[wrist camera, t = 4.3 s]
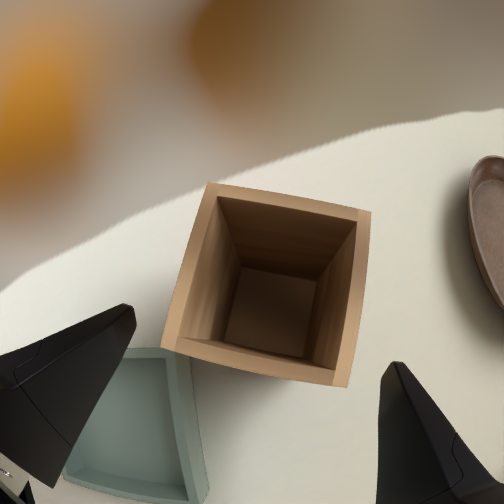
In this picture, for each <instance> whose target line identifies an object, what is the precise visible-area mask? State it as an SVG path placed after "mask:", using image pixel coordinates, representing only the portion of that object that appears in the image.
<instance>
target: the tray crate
mask: <svg viewBox="0 0 504 504" xmlns="http://www.w3.org/2000/svg"><path fill="white" fill-rule="evenodd" d="M62 475H63V478H64V480H66V481H69V482H71V483H74V484H77V485H80V486H83V487H86V488H90V489H93V490H96V491H100V492H103V493H107V494H111V495H115V496H119V497H123V498H127V499H132V500H137V501H142V502H148V503H154V504H203V502H204V500H205V498H206V496H207V493H208V491H209V485H208V479H207V474H206V469H205V464H204V458H203V452H202V446H201V440H200V434H199V427H198V421H197V414H196V406H195V399H194V391H193V382H192V374H191V364H190V356H188V355H184V354H181V353H178V352H175V351H171V350H168V349H165V348H127V349H126V351H125V354H124V356H123V358H122V360H121V362H120V364H119V366H118V368H117V369H116V371H115V373H114V374H113V376H112V378H111V380H110V381H109V383H108V385H107V387H106V388H105V390H104V392H103V394H102V395H101V397H100V399H99V401H98V402H97V404H96V406H95V408H94V410H93V411H92V413H91V415H90V417H89V419H88V421H87V423H86V424H85V426H84V428H83V430H82V432H81V434H80V436H79V438H78V440H77V441H76V443H75V445H74V447H73V450H72V452H71V454H70V456H69V458H68V460H67V462H66V464H65V466H64V468H63V470H62Z"/></svg>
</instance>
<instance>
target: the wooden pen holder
mask: <svg viewBox="0 0 504 504" xmlns="http://www.w3.org/2000/svg"><path fill="white" fill-rule="evenodd" d="M370 225H371V212H370V211H365V210H361V209H356V208H352V207H347V206H343V205H338V204H333V203H328V202H323V201H318V200H313V199H308V198H303V197H298V196H292V195H287V194H281V193H275V192H269V191H263V190H257V189H251V188H245V187H238V186H231V185H224V184H217V183H210V182H208V183H207V186H206V189H205V192H204V195H203V198H202V201H201V204H200V207H199V210H198V213H197V216H196V219H195V222H194V225H193V228H192V232H191V235H190V238H189V241H188V244H187V248H186V251H185V254H184V258H183V261H182V265H181V268H180V272H179V275H178V279H177V282H176V286H175V289H174V293H173V297H172V300H171V304H170V308H169V312H168V316H167V320H166V324H165V328H164V332H163V336H162V340H161V344H160V347H162V348H165V349H168V350H171V351H175V352H178V353H181V354H184V355H188V356H191V357H195V358H198V359H202V360H205V361H209V362H213V363H217V364H220V365H224V366H228V367H233V368H237V369H241V370H245V371H250V372H254V373H259V374H264V375H269V376H274V377H279V378H284V379H290V380H295V381H301V382H307V383H314V384H321V385H328V386H335V387H344V388H347V386H348V382H349V377H350V373H351V368H352V363H353V358H354V353H355V348H356V343H357V337H358V331H359V325H360V319H361V313H362V306H363V299H364V291H365V283H366V274H367V264H368V253H369V241H370Z"/></svg>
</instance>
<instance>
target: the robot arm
mask: <svg viewBox="0 0 504 504" xmlns="http://www.w3.org/2000/svg"><path fill="white" fill-rule="evenodd" d="M136 326H137V323H136V317H135V312H134V308H133V306H131V305H127V304H124V303H122V304H120V305H117V306H115V307H113V308H111V309H108V310H106V311H104V312H102V313H99V314H97V315H95V316H93V317H90V318H88V319H86V320H84V321H81V322H79V323H77V324H75V325H73V326H70V327H68V328H66V329H64V330H61V331H59V332H57V333H55V334H52V335H50V336H48V337H46V338H44V339H41V340H39V341H37V342H35V343H32V344H30V345H28V346H25V347H23V348H20V349H17V350H15V351H12V352H9V353H6V354H3V355H0V504H35V501H34V498H33V494H32V491H31V487H30V483H29V478H30V476H31V475H32V476H33V477H35V478H36V479H38V480H39V481H41V482H42V483H44V484H46V485H47V486H49V487H51V488H52V489H53V488H54V486H55V484H56V482H57V480H58V478H59V476H60V474H61V472H62V470H63V468H64V466H65V464H66V462H67V460H68V458H69V456H70V454H71V452H72V450H73V447H74V445H75V443H76V441H77V440H78V438H79V436H80V434H81V432H82V430H83V428H84V426H85V424H86V423H87V421H88V419H89V417H90V415H91V413H92V411H93V410H94V408H95V406H96V404H97V402H98V401H99V399H100V397H101V395H102V394H103V392H104V390H105V388H106V387H107V385H108V383H109V381H110V380H111V378H112V376H113V374H114V373H115V371H116V369H117V368H118V366H119V364H120V362H121V360H122V358H123V356H124V354H125V351H126V349H127V347H128V345H129V343H130V340H131V338H132V336H133V334H134V332H135V330H136ZM376 504H504V484H502V483H500V482H498V481H497V480H495V479H494V478H493V477H492V476H491V475H490V473H489V472H488V471H487V470H486V469H485V467H484V466H483V465H482V464H481V463H480V462H479V460H478V459H477V458H476V457H475V456H474V454H473V453H472V452H471V451H470V449H469V448H468V447H467V446H466V444H465V443H464V441H463V440H462V439H461V437H460V436H459V435H458V433H457V432H456V431H455V429H454V428H453V426H452V425H451V424H450V422H449V421H448V420H447V418H446V417H445V415H444V414H443V413H442V411H441V410H440V409H439V407H438V406H437V405H436V403H435V402H434V401H433V399H432V398H431V397H430V396H429V394H428V393H427V392H426V390H425V389H424V388H423V386H422V385H421V384H420V383H419V381H418V380H417V379H416V377H415V376H414V375H413V374H412V372H411V371H410V370H409V369H408V367H407V366H406V365H405V364H404V363H403V362H398V361H393V362H391V363H390V365H389V366H388V368H387V370H386V371H385V373H384V374H383V376H382V378H381V384H380V401H379V414H378V477H377V494H376Z"/></svg>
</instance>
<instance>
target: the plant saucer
mask: <svg viewBox="0 0 504 504" xmlns="http://www.w3.org/2000/svg"><path fill="white" fill-rule="evenodd" d="M468 224H469V232H470V238H471V243H472V247H473V251H474V255H475V258H476V262H477V264H478V267H479V270H480V272H481V275H482V277H483V280H484V282H485V284H486V286H487V288H488V289H489V291H490V293H491V294H492V296H493V298H494V299H495V301H496V302H497V303H498V305H499V306H500V307H501V308H502V310H503V311H504V157H501V156H496V155H490V156H486V157H484V158H482V159H480V160H479V161H478V162H477V163H476V165H475V166H474V168H473V171H472V173H471V177H470V182H469V189H468Z"/></svg>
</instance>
